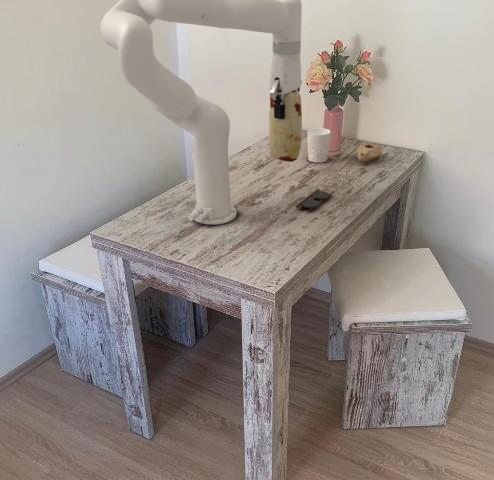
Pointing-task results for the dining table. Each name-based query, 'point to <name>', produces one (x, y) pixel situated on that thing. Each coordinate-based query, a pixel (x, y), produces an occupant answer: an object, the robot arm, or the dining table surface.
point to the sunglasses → (313, 200)
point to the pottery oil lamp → (368, 152)
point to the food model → (286, 129)
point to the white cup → (318, 144)
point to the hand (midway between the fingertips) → (286, 114)
